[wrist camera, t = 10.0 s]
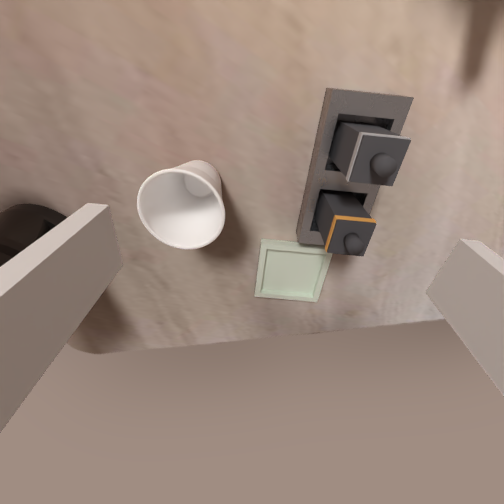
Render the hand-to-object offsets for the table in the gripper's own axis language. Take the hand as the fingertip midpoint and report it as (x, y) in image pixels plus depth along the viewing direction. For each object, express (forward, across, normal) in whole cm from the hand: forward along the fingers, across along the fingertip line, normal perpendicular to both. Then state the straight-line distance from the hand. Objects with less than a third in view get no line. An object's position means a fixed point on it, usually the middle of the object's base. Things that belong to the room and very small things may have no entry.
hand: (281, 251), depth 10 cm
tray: (+29, +7, -23) cm, 37 cm away
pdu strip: (+29, +11, -5) cm, 31 cm away
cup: (+29, -9, -8) cm, 31 cm away
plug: (+28, +11, -9) cm, 32 cm away
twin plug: (+28, +11, 0) cm, 30 cm away
